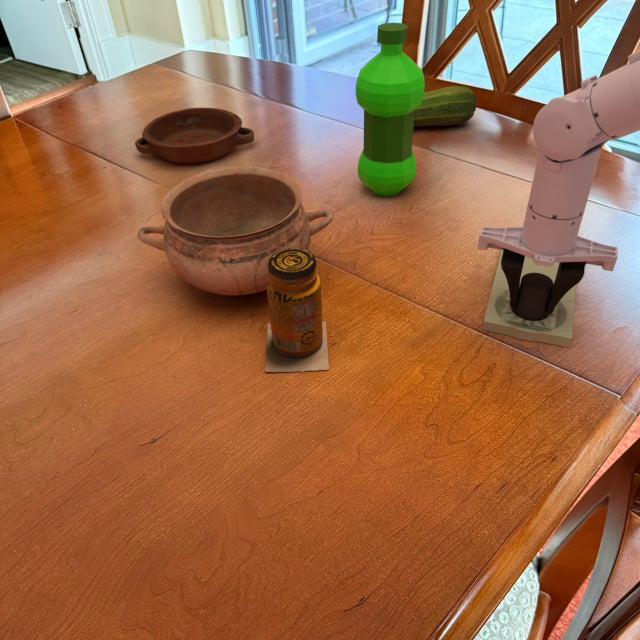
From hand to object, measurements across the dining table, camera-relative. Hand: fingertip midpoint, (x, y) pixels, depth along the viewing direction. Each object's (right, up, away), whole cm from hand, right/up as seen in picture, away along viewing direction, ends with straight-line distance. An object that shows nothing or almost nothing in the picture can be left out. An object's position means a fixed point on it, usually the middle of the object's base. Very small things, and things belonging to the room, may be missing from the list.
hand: (531, 305), depth 72 cm
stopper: (0, -1, +1) cm, 1 cm away
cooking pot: (-36, +4, +10) cm, 38 cm away
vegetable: (-5, +37, +46) cm, 59 cm away
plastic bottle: (-14, +20, +28) cm, 37 cm away
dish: (-49, +30, +42) cm, 71 cm away
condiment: (-28, -5, -1) cm, 29 cm away
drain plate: (+2, +2, +6) cm, 6 cm away
